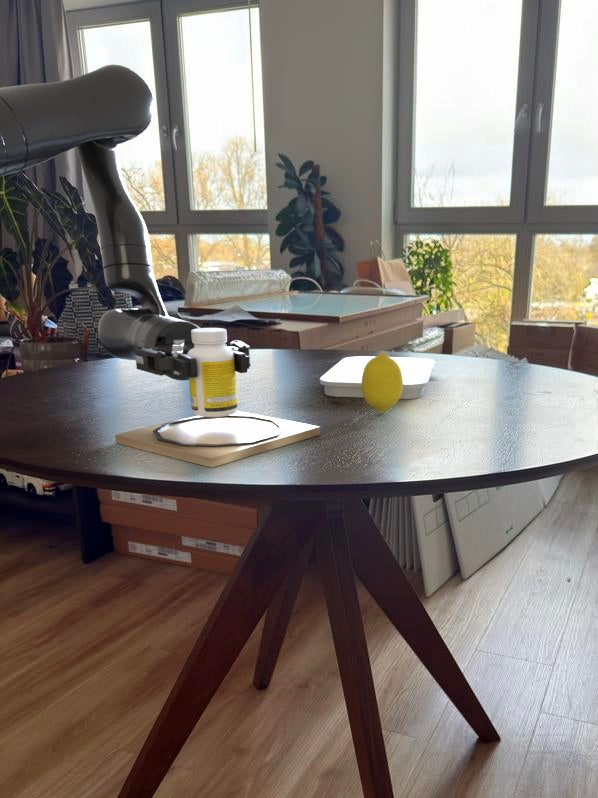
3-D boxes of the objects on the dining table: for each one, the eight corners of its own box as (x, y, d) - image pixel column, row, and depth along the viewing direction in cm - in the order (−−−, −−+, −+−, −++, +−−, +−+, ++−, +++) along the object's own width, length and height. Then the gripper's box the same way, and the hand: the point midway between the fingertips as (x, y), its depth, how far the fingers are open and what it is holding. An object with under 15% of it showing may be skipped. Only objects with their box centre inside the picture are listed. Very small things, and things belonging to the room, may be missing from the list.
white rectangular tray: (436, 371, 129) (436, 358, 129) (425, 400, 105) (425, 385, 104) (346, 368, 131) (346, 355, 131) (316, 396, 107) (315, 381, 106)
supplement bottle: (246, 410, 88) (242, 328, 84) (219, 420, 83) (213, 334, 80) (210, 406, 90) (204, 325, 86) (182, 415, 85) (174, 330, 82)
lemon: (360, 417, 95) (360, 356, 92) (362, 408, 100) (362, 349, 97) (402, 417, 95) (403, 356, 92) (402, 408, 100) (403, 350, 97)
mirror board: (211, 467, 73) (211, 456, 73) (115, 442, 82) (114, 432, 82) (320, 434, 86) (320, 424, 86) (227, 416, 95) (226, 407, 95)
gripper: (112, 320, 91) (153, 337, 77) (221, 315, 98) (275, 329, 85) (120, 380, 93) (160, 405, 80) (225, 370, 101) (278, 392, 88)
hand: (219, 366), depth 83 cm, fingers closed on supplement bottle, 5 cm apart
